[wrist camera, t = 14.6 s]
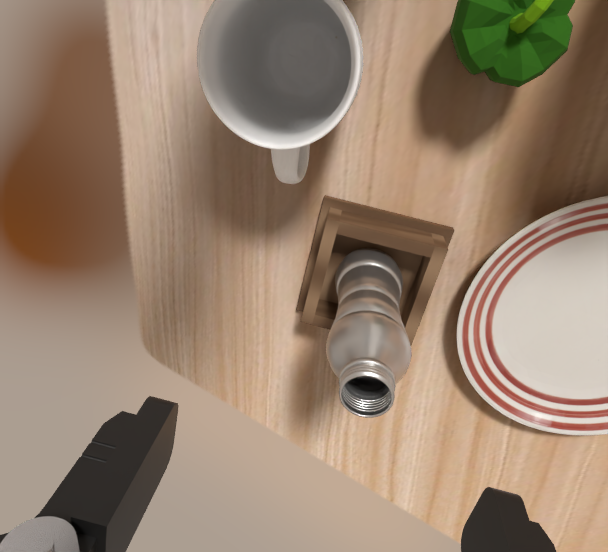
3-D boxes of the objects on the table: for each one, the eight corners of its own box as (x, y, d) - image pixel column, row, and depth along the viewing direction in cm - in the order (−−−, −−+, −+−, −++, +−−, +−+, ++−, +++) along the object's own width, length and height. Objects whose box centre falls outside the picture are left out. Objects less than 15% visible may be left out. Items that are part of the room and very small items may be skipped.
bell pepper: (476, 101, 43) (502, 116, 34) (425, 17, 41) (439, 11, 32) (569, 35, 40) (624, 33, 31) (520, -58, 38) (564, -88, 29)
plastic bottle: (360, 229, 49) (352, 337, 31) (415, 265, 50) (438, 391, 32) (324, 276, 52) (297, 401, 34) (377, 310, 53) (378, 449, 35)
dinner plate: (729, 406, 53) (750, 428, 50) (466, 430, 59) (471, 450, 56) (762, 155, 43) (791, 164, 40) (437, 214, 48) (441, 225, 45)
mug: (360, 166, 47) (355, 207, 35) (247, 163, 48) (207, 201, 37) (369, -14, 41) (366, -37, 29) (239, -12, 42) (186, -33, 30)
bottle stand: (324, 195, 49) (320, 208, 45) (452, 227, 48) (459, 243, 45) (297, 306, 55) (291, 326, 51) (411, 335, 54) (414, 358, 50)
